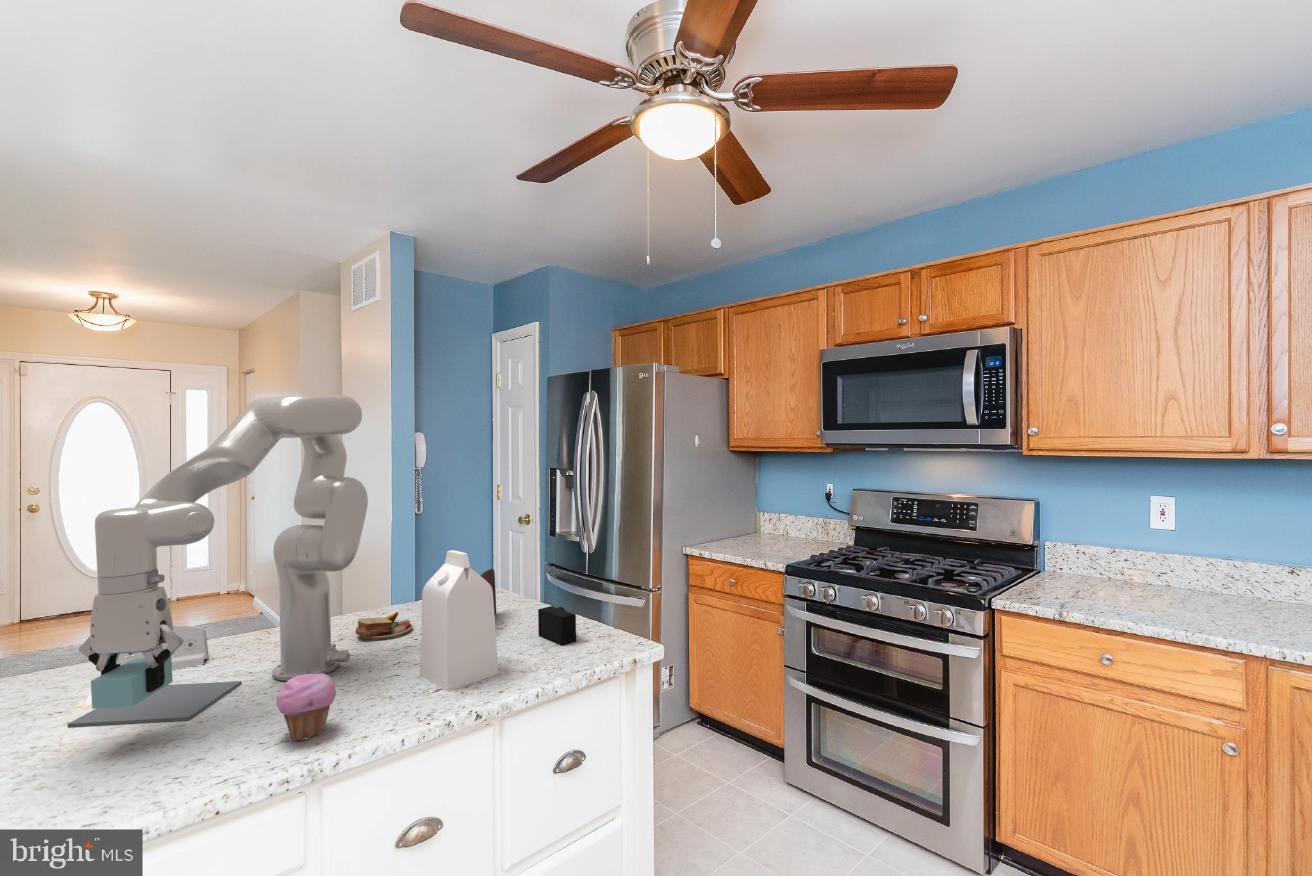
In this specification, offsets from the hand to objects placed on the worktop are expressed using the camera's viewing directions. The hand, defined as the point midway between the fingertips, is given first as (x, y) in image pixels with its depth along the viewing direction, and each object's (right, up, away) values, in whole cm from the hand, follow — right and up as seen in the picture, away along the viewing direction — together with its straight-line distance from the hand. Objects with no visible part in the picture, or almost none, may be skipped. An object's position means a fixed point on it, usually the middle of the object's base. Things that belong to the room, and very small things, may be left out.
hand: (133, 689), depth 100 cm
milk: (+45, -8, +27) cm, 54 cm away
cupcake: (+28, -9, +2) cm, 29 cm away
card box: (0, -1, 0) cm, 1 cm away
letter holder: (+37, -9, +61) cm, 72 cm away
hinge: (-23, -10, +34) cm, 42 cm away
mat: (-8, -9, +15) cm, 19 cm away
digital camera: (+63, -8, +49) cm, 80 cm away
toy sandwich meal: (+17, -9, +55) cm, 58 cm away
